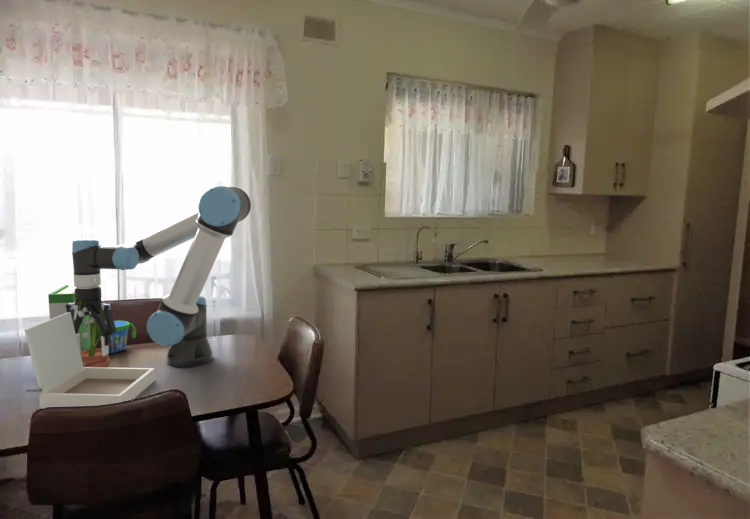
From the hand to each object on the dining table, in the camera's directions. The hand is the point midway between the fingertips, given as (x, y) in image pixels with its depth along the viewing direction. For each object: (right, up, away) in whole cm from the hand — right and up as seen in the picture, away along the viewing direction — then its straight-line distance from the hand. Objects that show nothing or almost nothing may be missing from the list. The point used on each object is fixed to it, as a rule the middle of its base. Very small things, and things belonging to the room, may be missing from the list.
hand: (91, 354), depth 170 cm
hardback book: (-15, -3, +16) cm, 22 cm away
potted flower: (0, -5, +1) cm, 6 cm away
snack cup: (-3, -3, +22) cm, 22 cm away
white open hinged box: (+11, -8, -18) cm, 23 cm away
